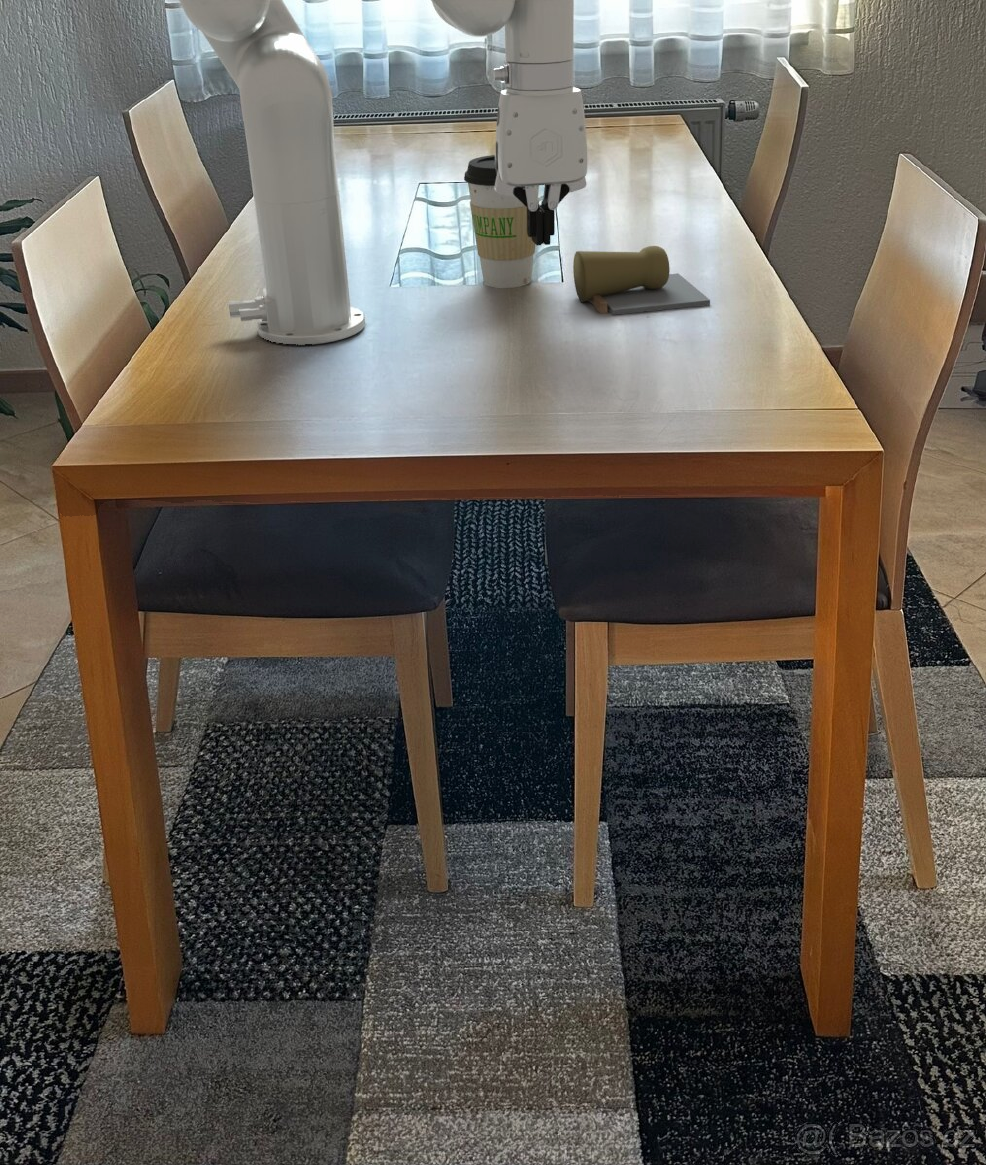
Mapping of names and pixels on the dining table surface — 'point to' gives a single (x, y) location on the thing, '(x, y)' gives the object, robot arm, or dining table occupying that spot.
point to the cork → (619, 271)
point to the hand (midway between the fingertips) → (540, 241)
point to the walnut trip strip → (599, 303)
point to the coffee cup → (499, 228)
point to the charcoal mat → (656, 297)
